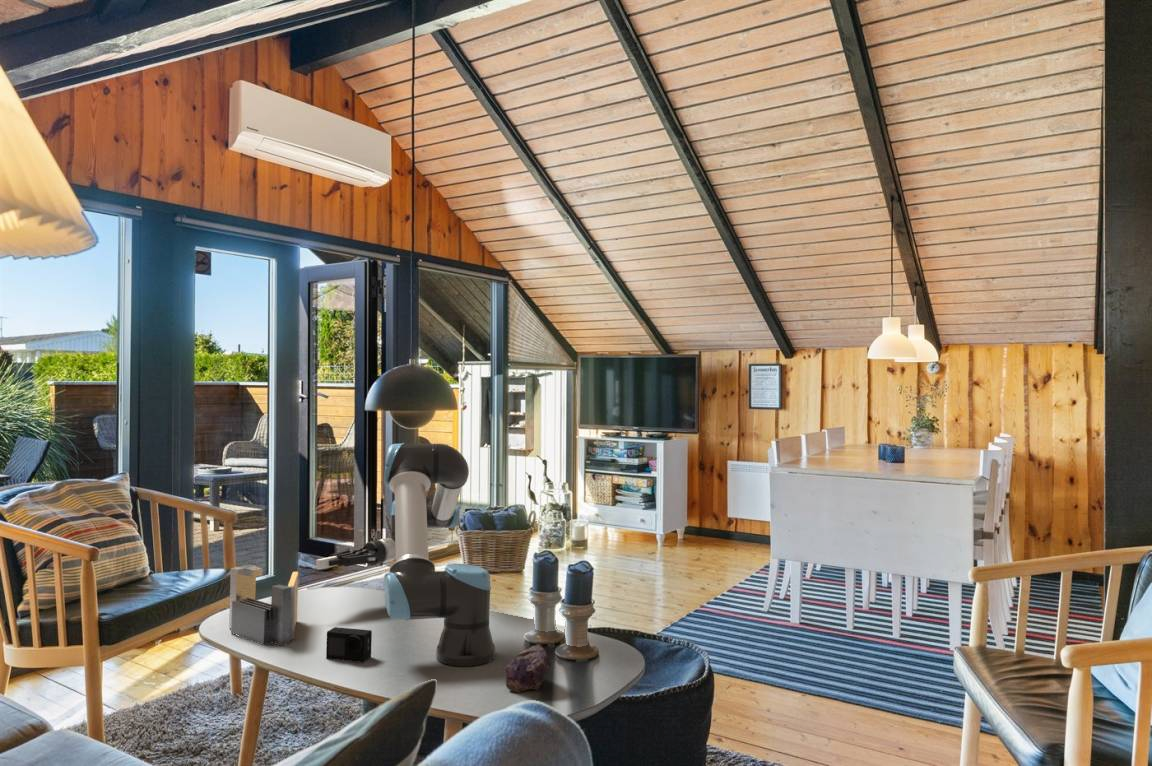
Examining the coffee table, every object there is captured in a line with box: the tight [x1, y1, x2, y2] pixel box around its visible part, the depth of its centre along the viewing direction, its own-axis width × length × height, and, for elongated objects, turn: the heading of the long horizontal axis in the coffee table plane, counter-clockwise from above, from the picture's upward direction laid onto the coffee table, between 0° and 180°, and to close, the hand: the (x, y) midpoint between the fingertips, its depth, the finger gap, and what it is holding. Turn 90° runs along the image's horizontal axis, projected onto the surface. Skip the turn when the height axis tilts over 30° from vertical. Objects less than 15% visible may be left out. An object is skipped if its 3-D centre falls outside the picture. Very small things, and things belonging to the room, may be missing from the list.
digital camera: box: [325, 627, 373, 663], centre depth 201 cm, size 10×5×7 cm, turn 79°
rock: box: [505, 644, 552, 693], centre depth 185 cm, size 12×9×10 cm
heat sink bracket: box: [228, 564, 291, 646], centre depth 218 cm, size 24×8×17 cm, turn 55°
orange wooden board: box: [287, 571, 299, 641], centre depth 222 cm, size 19×2×14 cm, turn 15°
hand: (317, 564), depth 234 cm, fingers closed
